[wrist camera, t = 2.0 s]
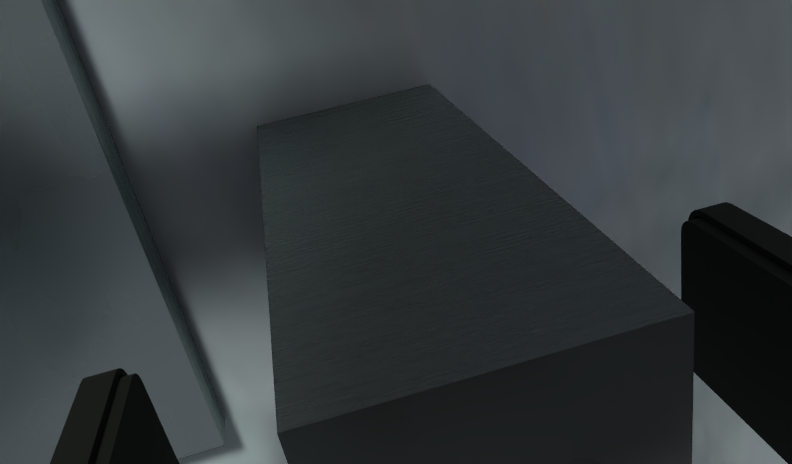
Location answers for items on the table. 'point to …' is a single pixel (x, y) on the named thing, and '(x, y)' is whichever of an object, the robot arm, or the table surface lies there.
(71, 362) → the ringlock standard
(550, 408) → the grey rectangular block
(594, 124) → the table surface
